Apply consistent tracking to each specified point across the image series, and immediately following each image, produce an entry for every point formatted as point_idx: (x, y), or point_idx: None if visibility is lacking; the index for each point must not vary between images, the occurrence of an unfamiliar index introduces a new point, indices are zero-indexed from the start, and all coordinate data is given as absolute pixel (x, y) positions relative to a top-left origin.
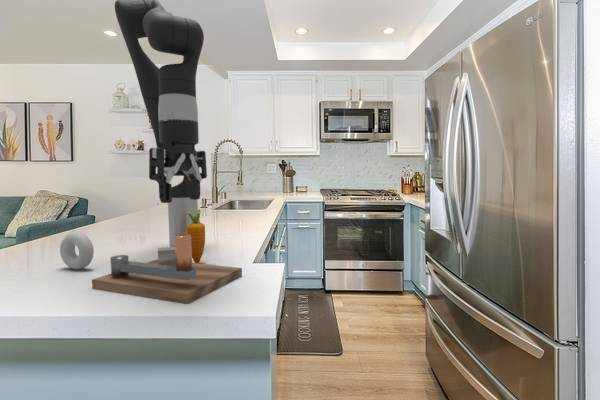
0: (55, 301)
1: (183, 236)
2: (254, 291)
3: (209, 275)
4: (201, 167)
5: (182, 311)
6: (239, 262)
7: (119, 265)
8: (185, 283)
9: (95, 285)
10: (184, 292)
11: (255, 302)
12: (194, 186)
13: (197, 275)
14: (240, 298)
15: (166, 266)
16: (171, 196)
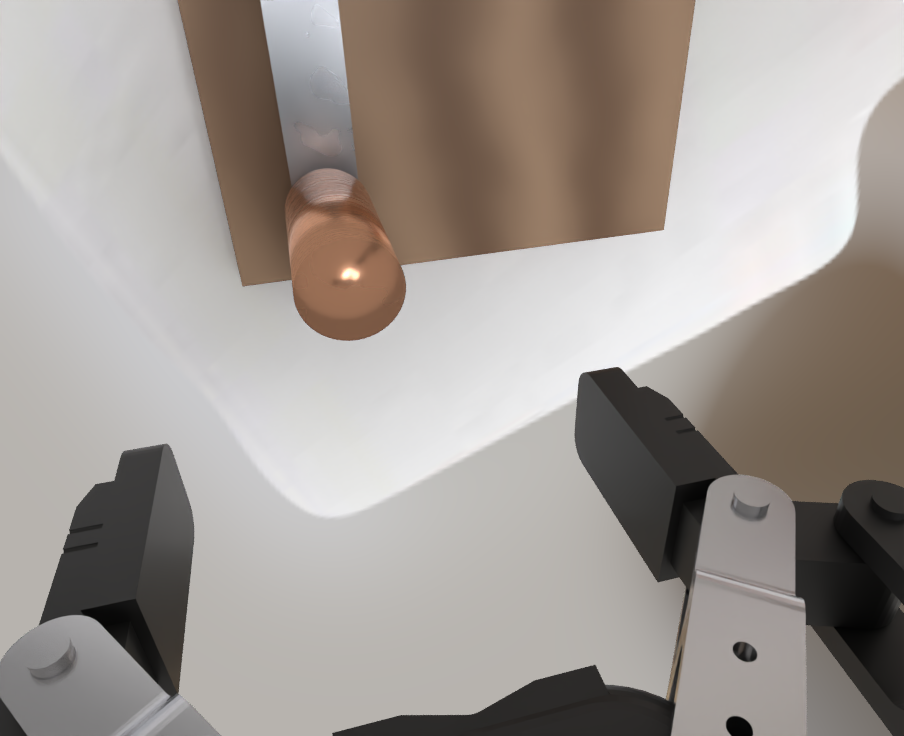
0: None
1: (333, 313)
2: (480, 381)
3: (504, 175)
4: (900, 715)
5: (174, 309)
6: (879, 33)
7: None
8: None
9: None
10: (245, 264)
11: (384, 447)
12: (639, 509)
13: (480, 118)
14: (394, 387)
15: (322, 63)
16: (186, 569)
